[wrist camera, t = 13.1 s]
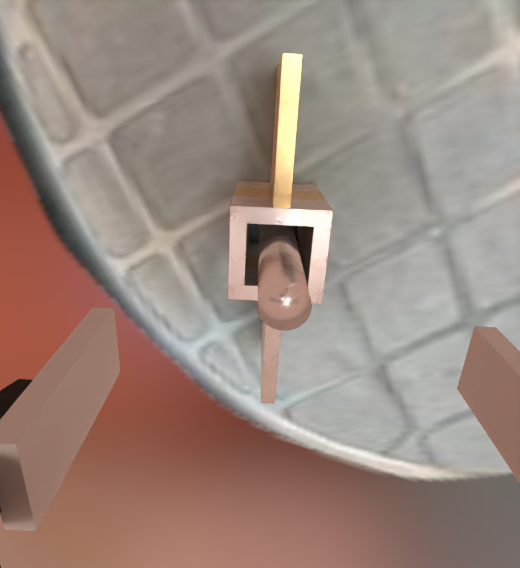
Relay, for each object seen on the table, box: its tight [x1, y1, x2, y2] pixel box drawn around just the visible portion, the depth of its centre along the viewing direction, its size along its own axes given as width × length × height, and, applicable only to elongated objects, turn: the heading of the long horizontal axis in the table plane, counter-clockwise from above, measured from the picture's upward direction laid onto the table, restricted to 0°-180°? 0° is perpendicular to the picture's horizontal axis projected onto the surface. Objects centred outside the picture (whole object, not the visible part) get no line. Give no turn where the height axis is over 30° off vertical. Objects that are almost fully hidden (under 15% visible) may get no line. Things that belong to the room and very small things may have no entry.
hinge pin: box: [257, 224, 312, 331], centre depth 27 cm, size 2×2×16 cm
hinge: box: [228, 53, 333, 404], centre depth 30 cm, size 22×6×9 cm, turn 177°
